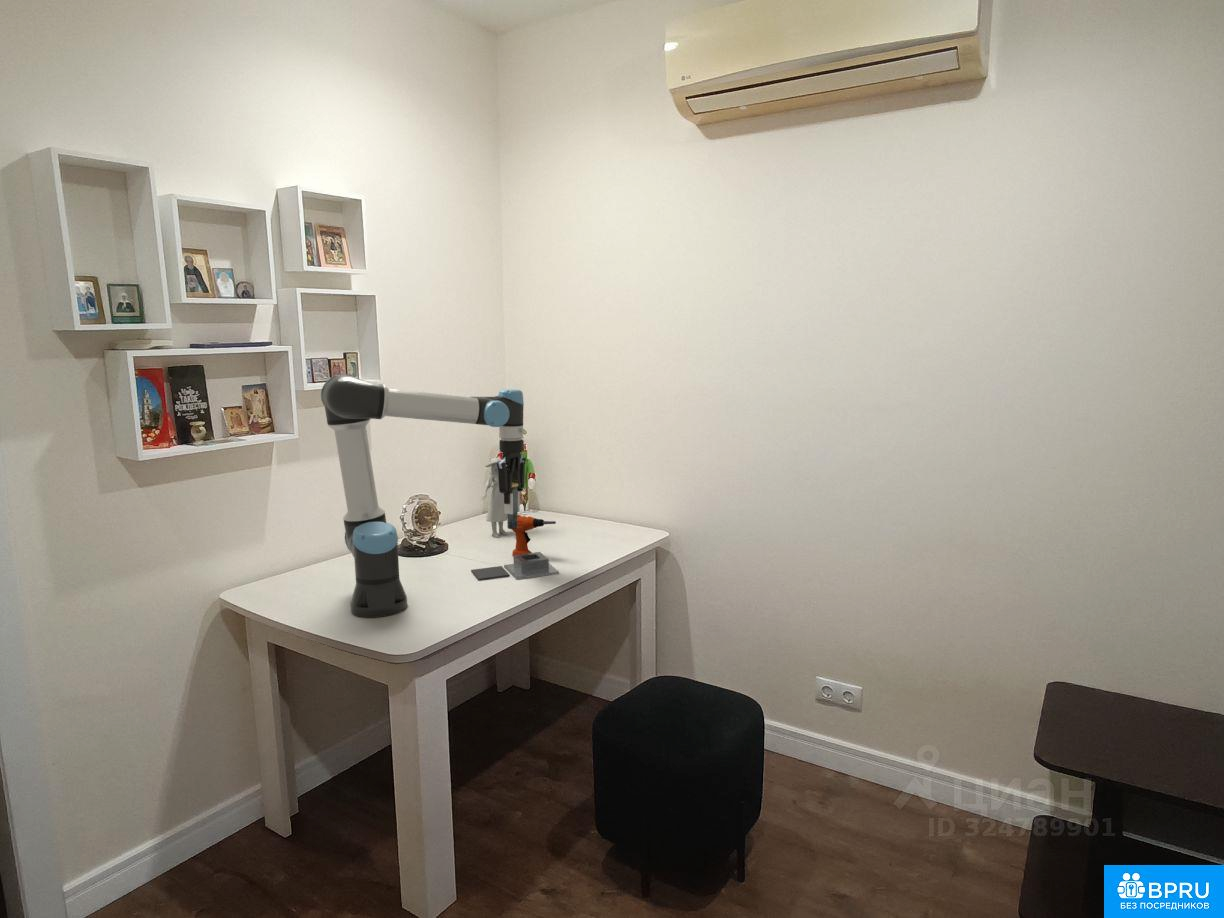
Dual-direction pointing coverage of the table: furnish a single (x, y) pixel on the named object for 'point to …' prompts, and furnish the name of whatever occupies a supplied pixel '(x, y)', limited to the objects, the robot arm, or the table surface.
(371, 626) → the table surface
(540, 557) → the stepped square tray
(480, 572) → the mat
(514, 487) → the gold capped cylinder
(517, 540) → the toy drill
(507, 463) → the robot arm
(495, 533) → the character figure
